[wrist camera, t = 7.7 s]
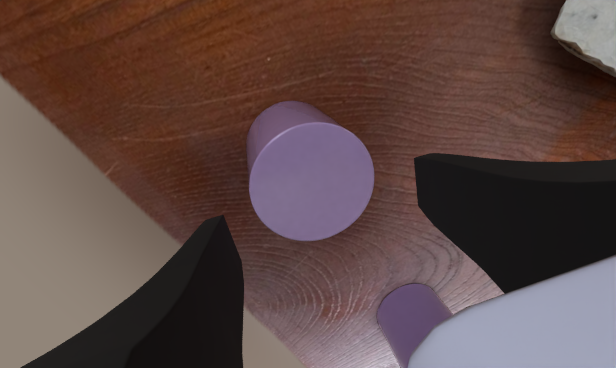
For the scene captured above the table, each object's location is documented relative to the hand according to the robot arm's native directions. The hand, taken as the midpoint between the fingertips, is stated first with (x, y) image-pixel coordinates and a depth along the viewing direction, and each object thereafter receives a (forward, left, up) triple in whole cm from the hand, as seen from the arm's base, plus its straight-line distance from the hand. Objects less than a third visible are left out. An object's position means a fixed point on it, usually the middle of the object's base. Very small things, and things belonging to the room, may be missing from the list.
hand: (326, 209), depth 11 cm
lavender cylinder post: (0, 0, -8) cm, 8 cm away
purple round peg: (+7, -15, -8) cm, 18 cm away
